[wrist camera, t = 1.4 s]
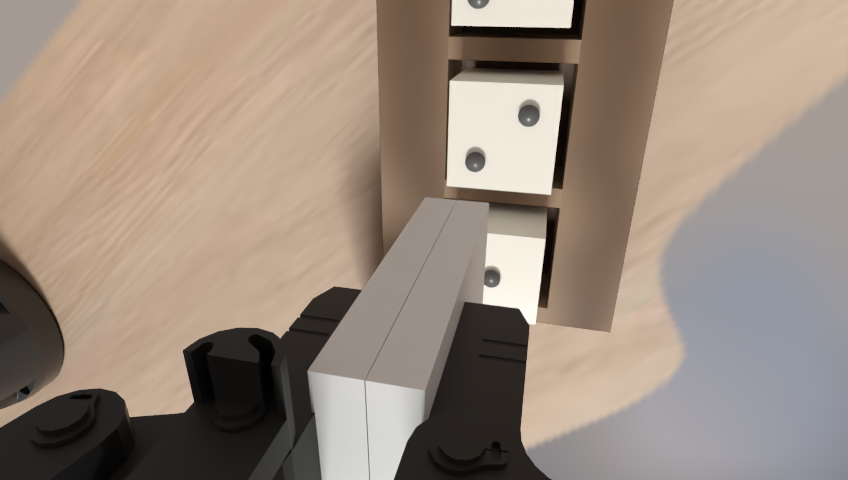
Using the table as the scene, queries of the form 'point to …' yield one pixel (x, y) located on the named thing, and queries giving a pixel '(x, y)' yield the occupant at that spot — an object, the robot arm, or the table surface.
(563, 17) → the three-pip tile
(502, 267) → the white cube with dot
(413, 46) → the brown tile rack
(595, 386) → the table surface
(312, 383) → the robot arm
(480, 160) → the tile
